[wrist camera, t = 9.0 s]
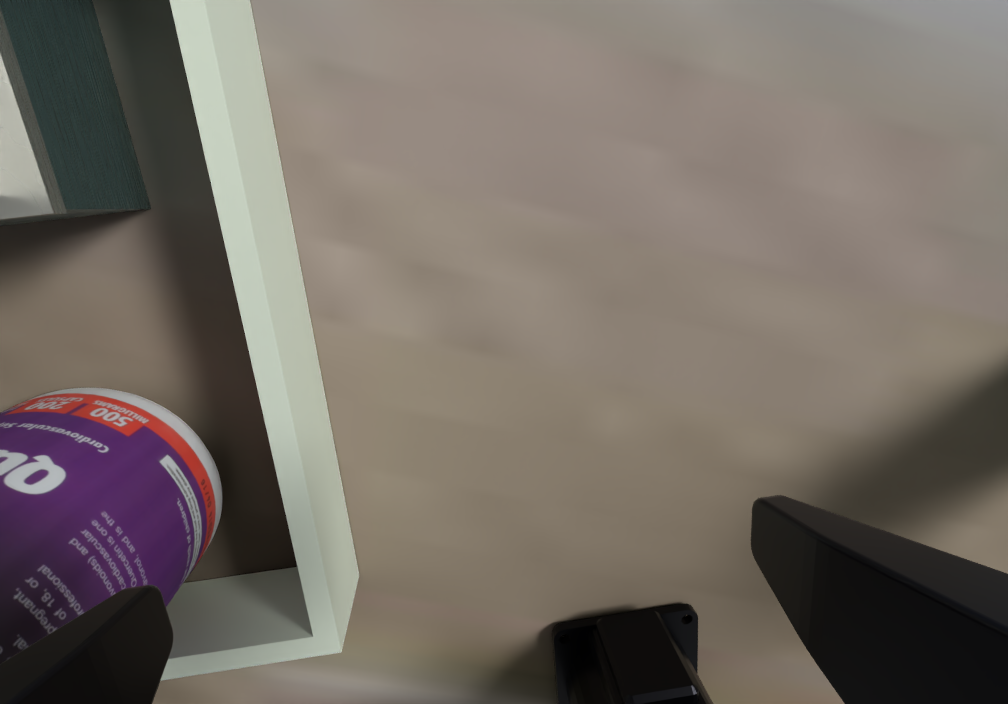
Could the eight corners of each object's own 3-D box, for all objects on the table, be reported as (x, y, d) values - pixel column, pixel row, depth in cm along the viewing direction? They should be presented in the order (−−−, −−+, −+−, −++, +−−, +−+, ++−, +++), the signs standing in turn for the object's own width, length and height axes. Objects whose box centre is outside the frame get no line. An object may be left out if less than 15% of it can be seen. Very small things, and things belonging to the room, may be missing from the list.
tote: (359, 575, 22) (341, 652, 18) (-59, 635, 21) (-172, 732, 17) (234, -83, 16) (167, -174, 12) (-371, -54, 15) (-658, -145, 11)
